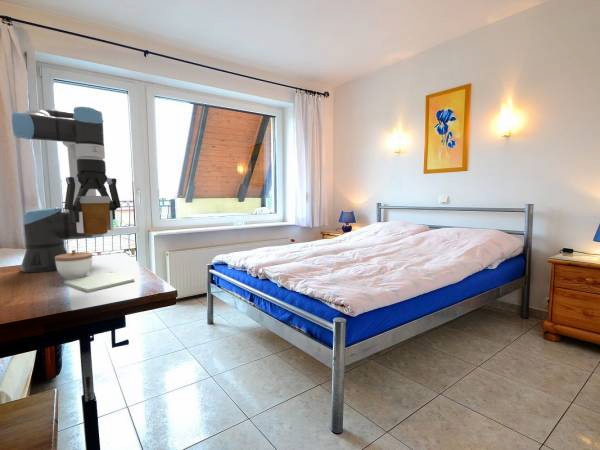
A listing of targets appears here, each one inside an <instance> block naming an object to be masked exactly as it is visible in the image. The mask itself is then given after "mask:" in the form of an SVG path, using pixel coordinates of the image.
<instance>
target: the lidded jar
mask: <svg viewBox="0 0 600 450" xmlns="http://www.w3.org/2000/svg"><path fill="white" fill-rule="evenodd" d="M55 263H56V268H57V270H56V271H57V273H58V274H59V275H60V276H62V277H64V279H65V280H74V279H79V278H84V277H87V274H89V272H90V271H91V269H92V266H93V253H92V252H89V251H88V252H86V251H85V252H84V251H82V252H76V249H75V250H74V249H73V250H71V252H69V253H68V252H67V254H61V255H58V256H55Z"/></svg>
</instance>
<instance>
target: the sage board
mask: <svg viewBox="0 0 600 450" xmlns="http://www.w3.org/2000/svg"><path fill="white" fill-rule="evenodd" d="M132 281H133V282H135V278H133V277H129V276H125V275H120V274H118V273H112V272H104V273H99V274H95V275H89V276H85V277H82V278H76V279H68V280H66V281H65V280H64V281H63V284H64V285H66V286H68V287H69V286H70V287H72V288H75V289H78V290H82V291H83V292H87V293H90V292H94V291H95V292H96V291H99V290H103V289H108V288H111V287H116V286H120V285H124V284H127V283H133V282H132Z"/></svg>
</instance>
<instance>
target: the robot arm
mask: <svg viewBox="0 0 600 450" xmlns="http://www.w3.org/2000/svg"><path fill="white" fill-rule="evenodd" d="M11 125H12V133H13V136H14V137H15V138H18V139H24V140H25V139H26V140H37V141H51V142H52V141H53V142H61V143H62V145H63V146H65V147H66V148H67V157H68V167H69V169H68V171H69V176H66V177H65V181H66V184H67V185H66V186H67V187H66V193H65V201H64V206H63V207H64V209H65V210H63V209H62V207H61V206H58V207H49V208H41V209H33V210H29V211H25V213H24V214H23V222H22V223H23V224H22V225H23V226H24V227H23V228H24V238H25V254H24V256H23V259H22V263H21V271H22V272H23V273H42V272H51V271H57V268H56V263H55V256H58V255H61V254H67V253H68V252H67V249H66V248H65V241H67V240H69V241H70V240H78V239H80V240H81V239H93V238H94V239H95V238H101V237H103V236H104V235H105V234H99V235H85V234H84V229H83V214H82V212H79V210H80V208H81V203H80V198H81V196H97V192H98V193H99V194H100V195H99V196H109V197H110V200H111V201H110V206H109V218H108V231H114V220H115V219H116V212H115V211H116V210H117V209H120V208H121V207H122V205H121V201H120V196H119V193H118V189H117V188H118V187H117V179H116V178H114V177H113V178H111V177H108V176H107V174H106V171H107V169H106V168H107V167H106V161H105V159H106V157H105V156H106V154H105V153H106V152H105V141H104V140H105V139H104V118H103V112H102V111H101V110H100V109H97V108H94V107H89V106H75V107H74V108H73V111H67V110H59V109H52V108H38V109H30V110H28V111H25V112H13V113H12V114H11ZM106 183H107V185H108V190H109V192H108V191H107V188H106V186H105V184H106ZM77 196H80V197H79V198H78V197H77ZM76 200H78V201H76Z"/></svg>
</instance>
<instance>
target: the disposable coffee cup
mask: <svg viewBox="0 0 600 450" xmlns="http://www.w3.org/2000/svg"><path fill="white" fill-rule="evenodd" d="M77 197H78V198H79V197H80V196H77ZM110 199H111V196H110V195H109V196H101V195H96V196H81V198H80V203H81V208H80V210H79V212H82V214H83V229H84V234H85V235H99V234H104V235H105V234H108V231H109V230H108V218H109V206H110V201H111V200H112V199H111V200H110ZM76 201H78V200H76Z"/></svg>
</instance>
